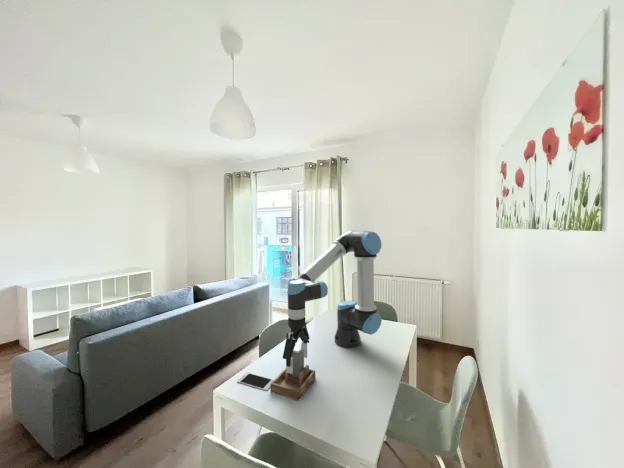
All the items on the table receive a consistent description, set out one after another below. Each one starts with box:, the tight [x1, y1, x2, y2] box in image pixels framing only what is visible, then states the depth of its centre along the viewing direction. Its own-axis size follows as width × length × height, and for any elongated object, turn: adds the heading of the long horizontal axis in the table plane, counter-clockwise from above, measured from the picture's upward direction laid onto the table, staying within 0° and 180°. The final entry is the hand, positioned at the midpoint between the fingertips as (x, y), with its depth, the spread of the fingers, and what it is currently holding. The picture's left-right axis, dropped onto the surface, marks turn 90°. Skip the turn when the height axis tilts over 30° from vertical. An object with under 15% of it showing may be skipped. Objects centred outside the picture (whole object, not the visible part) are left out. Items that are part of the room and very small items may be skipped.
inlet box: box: [270, 364, 316, 401], centre depth 110 cm, size 16×13×6 cm
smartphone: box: [236, 372, 274, 392], centre depth 112 cm, size 7×15×1 cm, turn 67°
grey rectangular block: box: [290, 346, 305, 379], centre depth 113 cm, size 4×4×13 cm
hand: (297, 364), depth 113 cm, fingers open, 13 cm apart
